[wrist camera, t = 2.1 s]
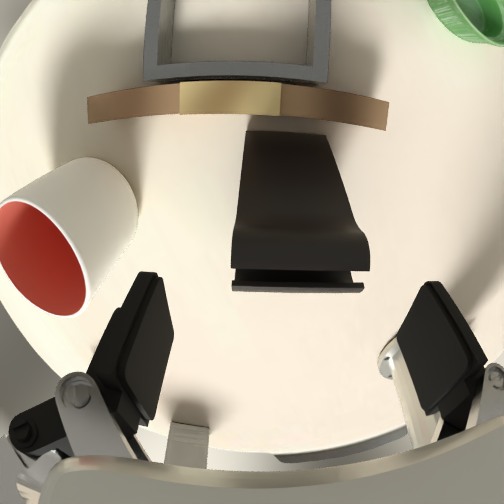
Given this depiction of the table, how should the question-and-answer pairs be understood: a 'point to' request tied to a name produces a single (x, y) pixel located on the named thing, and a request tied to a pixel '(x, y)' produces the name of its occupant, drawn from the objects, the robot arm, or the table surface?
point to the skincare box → (187, 446)
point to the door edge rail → (239, 102)
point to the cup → (66, 234)
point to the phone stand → (294, 219)
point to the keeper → (162, 70)
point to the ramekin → (472, 19)
